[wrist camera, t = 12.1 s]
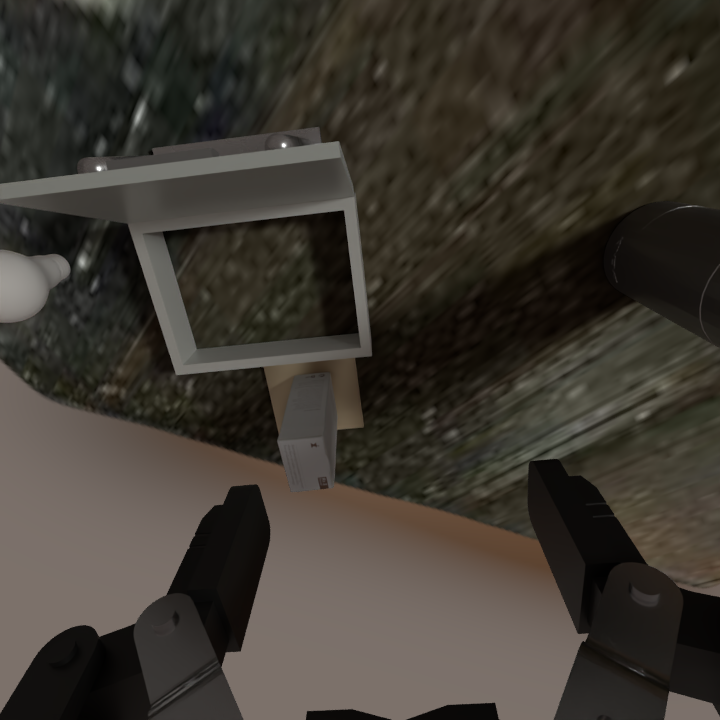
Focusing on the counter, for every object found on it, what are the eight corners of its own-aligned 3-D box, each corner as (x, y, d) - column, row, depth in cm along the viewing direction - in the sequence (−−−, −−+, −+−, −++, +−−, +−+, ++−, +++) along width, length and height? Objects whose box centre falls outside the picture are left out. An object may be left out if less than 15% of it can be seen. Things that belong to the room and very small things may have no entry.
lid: (354, 196, 38) (352, 179, 38) (340, 157, 24) (337, 129, 24) (127, 223, 39) (124, 206, 39) (-13, 201, 25) (-21, 174, 25)
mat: (354, 354, 49) (354, 357, 48) (363, 424, 53) (363, 427, 52) (264, 363, 49) (263, 366, 49) (279, 431, 53) (278, 434, 53)
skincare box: (292, 374, 49) (271, 439, 38) (332, 370, 49) (323, 433, 38) (302, 421, 52) (286, 494, 41) (341, 417, 52) (334, 490, 41)
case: (355, 192, 42) (354, 196, 38) (371, 340, 48) (372, 355, 44) (147, 217, 43) (127, 223, 39) (190, 358, 49) (176, 375, 46)
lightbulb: (105, 268, 45) (32, 302, 35) (69, 305, 47) (-10, 347, 37) (54, 220, 43) (-40, 241, 33) (18, 260, 45) (-81, 292, 35)
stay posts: (319, 127, 40) (297, 117, 27) (324, 164, 41) (305, 171, 28) (154, 148, 40) (58, 148, 28) (164, 183, 42) (76, 199, 29)
